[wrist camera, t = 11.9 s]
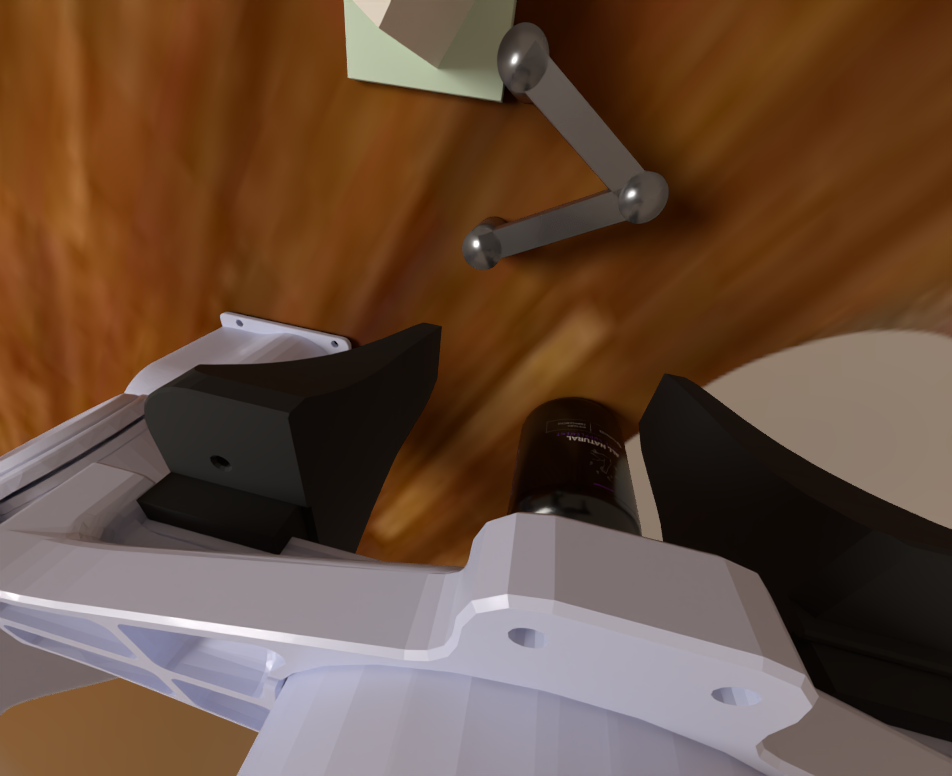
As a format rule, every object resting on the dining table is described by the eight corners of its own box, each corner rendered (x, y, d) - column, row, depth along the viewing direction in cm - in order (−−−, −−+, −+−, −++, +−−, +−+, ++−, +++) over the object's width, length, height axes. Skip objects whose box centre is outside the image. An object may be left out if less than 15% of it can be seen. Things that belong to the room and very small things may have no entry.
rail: (475, 249, 20) (460, 266, 17) (501, 43, 15) (487, 16, 12) (618, 276, 19) (628, 298, 16) (692, 70, 14) (726, 49, 11)
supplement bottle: (612, 384, 22) (654, 565, 13) (626, 463, 26) (669, 657, 16) (508, 402, 25) (474, 567, 15) (533, 472, 28) (519, 647, 18)
